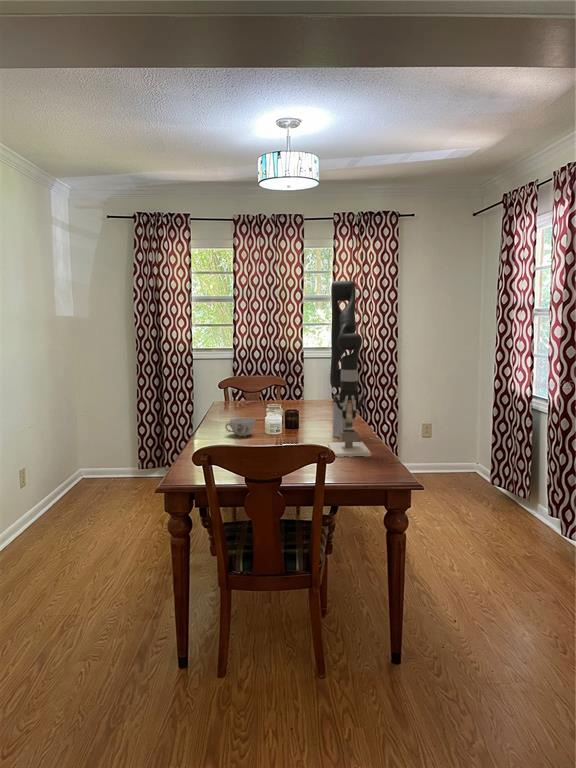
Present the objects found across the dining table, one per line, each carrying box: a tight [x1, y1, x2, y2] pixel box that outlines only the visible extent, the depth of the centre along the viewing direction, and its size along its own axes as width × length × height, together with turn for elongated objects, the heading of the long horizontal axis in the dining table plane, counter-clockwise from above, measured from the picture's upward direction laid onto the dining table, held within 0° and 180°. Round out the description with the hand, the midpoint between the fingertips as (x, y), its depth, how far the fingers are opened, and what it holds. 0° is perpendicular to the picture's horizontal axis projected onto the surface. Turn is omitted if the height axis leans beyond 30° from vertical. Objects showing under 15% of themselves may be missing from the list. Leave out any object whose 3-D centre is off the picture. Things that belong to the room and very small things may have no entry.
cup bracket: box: [327, 428, 372, 458], centre depth 257 cm, size 20×16×9 cm
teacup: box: [225, 417, 256, 437], centre depth 288 cm, size 15×12×8 cm
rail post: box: [345, 400, 354, 428], centre depth 255 cm, size 3×3×12 cm
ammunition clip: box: [274, 435, 299, 446], centre depth 232 cm, size 11×2×12 cm, turn 117°
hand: (348, 418), depth 255 cm, fingers closed on rail post, 3 cm apart
